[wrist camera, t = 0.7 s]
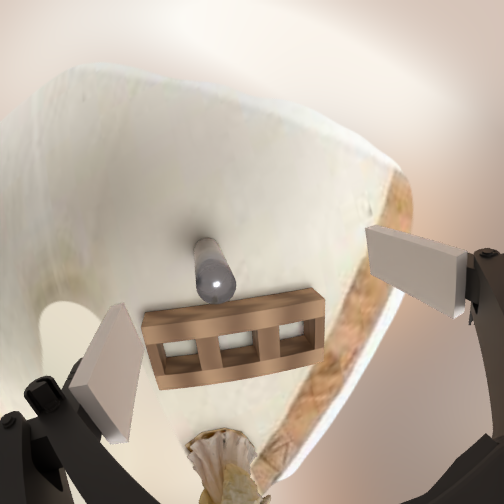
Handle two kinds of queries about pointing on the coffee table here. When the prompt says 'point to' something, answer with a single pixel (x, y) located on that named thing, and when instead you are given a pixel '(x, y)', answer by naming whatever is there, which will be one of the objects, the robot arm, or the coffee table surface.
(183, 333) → the hole block
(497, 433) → the robot arm
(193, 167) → the coffee table surface
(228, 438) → the figurine
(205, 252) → the peg
